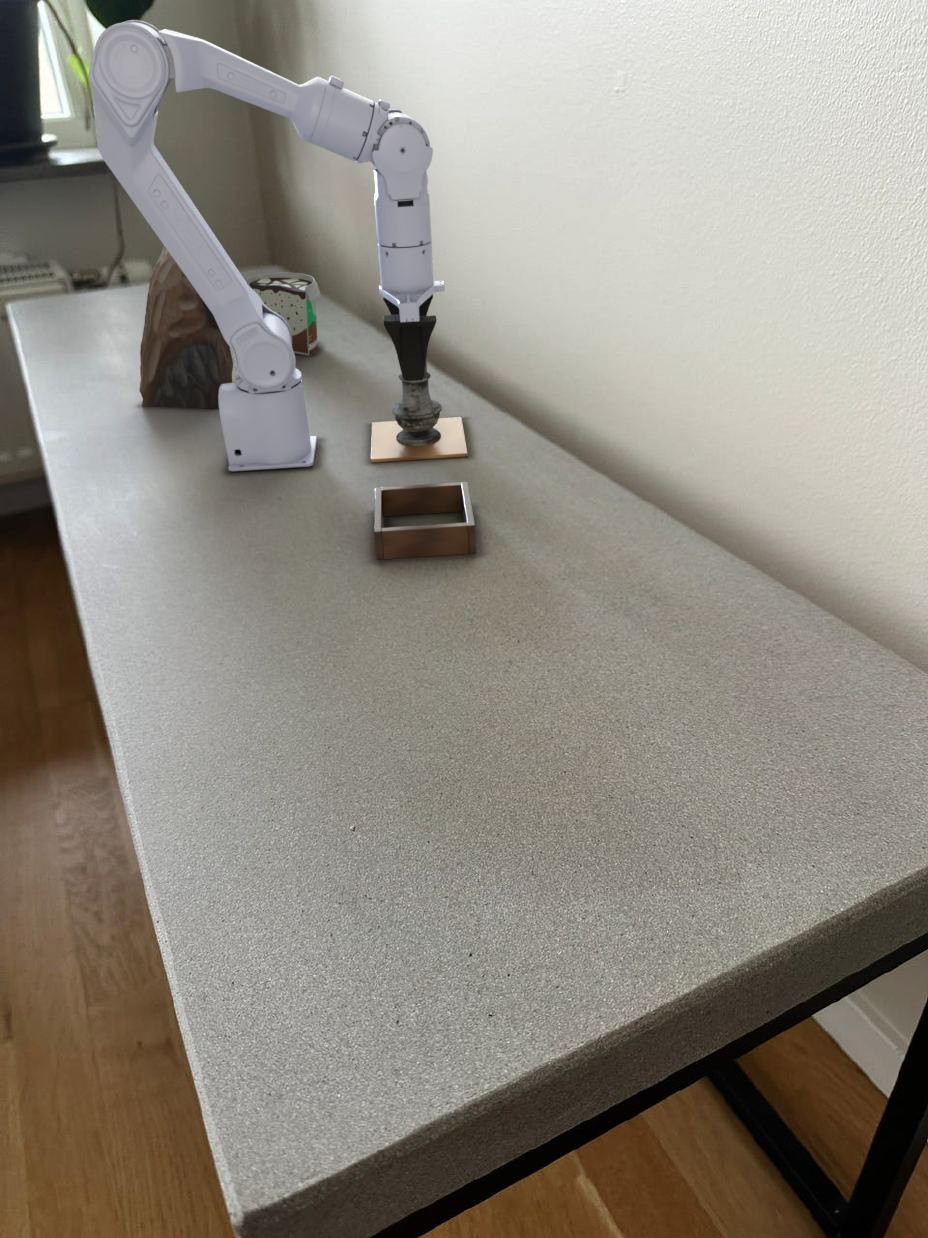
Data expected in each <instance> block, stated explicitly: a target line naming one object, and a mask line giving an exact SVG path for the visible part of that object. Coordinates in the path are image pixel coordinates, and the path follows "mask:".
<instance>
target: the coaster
mask: <svg viewBox="0 0 928 1238" xmlns="http://www.w3.org/2000/svg"><path fill="white" fill-rule="evenodd" d="M433 428H434V429H436V430H438V431H439V432H440V433H441V438H440V439H439V440H438V441H436V442H435V443H432V444H428V445H423V446H409V445H404V444H402V443H399V442H398V441H397V439H396V436H397V434H398V433H399V432H401V431H402V430H404V429H402V428H401V427H400V426H399V425H398V423H397V421H396V420H389V421H375V422H373V421H372V422H371V442H370V463H382V462H383V463H384V462H397V461H398V462H399V461H415V460H430V459H445V458H463V457H468V456H469V454H468V453H469V452H468V447H467V442H466V435H465V429H464V424H463V418H462V416H455V417H454V416H453V417H439V419H438V422H437V423H436V425H435V426H434V427H433Z"/></svg>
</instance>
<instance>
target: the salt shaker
mask: <svg viewBox="0 0 928 1238" xmlns="http://www.w3.org/2000/svg"><path fill="white" fill-rule="evenodd" d="M431 376H432V375H431V374H430V373H429V372H428V367H427V364H426V365H425V372H424V377H423V380H414V381H404V378H403V375H402V373H400V374H399V375H398V379H399V380H400V381H401V389H402V390H401V391H402V395H401V401H399V402H397V403H395V404H394V405H392V407H391V413H392V414H393V415H394V419H395V421H397V423H398V425H399V426H400V427H401V428H402V429H404V430H402V431H401V432H399V433H398V434H397V436H396V439H397V441H398V442H399V443H402V444H404V445H409V446H423V445H428V444H432V443H435V442H436V441H438V440H439V439H440V438H441V433H440V432H439V431H438V430H436V429H434V428H433V427H434V426H435V425H436V423H437V422H438V419H439V418H440V415H441V412H442V411H443V405H442V404H441V403H440V402H439V401H436V400H434V399H431V394H430V390H429V389H430V388H429V379H430V378H431Z"/></svg>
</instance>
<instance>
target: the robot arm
mask: <svg viewBox="0 0 928 1238" xmlns="http://www.w3.org/2000/svg"><path fill="white" fill-rule="evenodd" d="M87 75H88V76H87V78H88V83H89V87H90V91H91V98H92V108H93V115H94V125H95V133H96V143H97V144H96V145H97V149H98V152H99V154H100V156H101V158H102V160H103V161H104V162H105V164H106V165H107V167H108V168H109V170H110V171H111V172H112V174H113V175H114V177H115V178H116V180H117V181H118V183H120V185H121V187H122V188H123V189H124V191H125V192H126V194H127V195H128V196H129V198H130V199H131V200H132V202H133V204H134V205H135V206H136V208H137V210H139V212H140V213H141V215H142V216H143V218H144V219H145V221H146V222H147V223H148V225H149V226H150V228H151V229H152V231H153V232H154V233H155V235H156V236H157V237H158V239H159V240H160V242H161V243H162V244H163V246H164V247H166V249H167V250H168V252H169V253H170V254H171V256H172V257H173V259H174V260H175V261H176V263H177V264H178V266H179V267H180V269H181V270H182V271H183V273H184V274H185V276H186V277H187V278H188V280H189V281H190V283H191V284H192V285H193V287H194V288H195V290H196V291H197V293H198V294H199V295H200V297H201V298H202V300H203V301H204V302H205V304H206V305H207V307H208V308H209V310H210V311H211V312H212V314H213V315H214V317H215V320H216V322H217V324H218V326H219V329H220V331H221V333H222V335H223V337H224V339H225V341H226V342H227V344H228V345H229V347H230V351H231V353H232V356H233V359H234V361H233V362H234V367H235V370H236V372H237V375H236V376H235V381H232V383H226V384H221V385H220V387H219V395H218V401H219V408H218V410H219V412H218V413H219V418H220V424H221V431H222V434H223V435H222V436H223V440H224V441H223V442H224V446H225V451H226V457H227V462H228V471H229V472H243V471H244V472H245V471H260V470H276V469H292V468H294V469H295V468H307V467H312V466H313V465H314V463H315V456H316V449H317V444H318V443H317V442H318V437H317V435H310V428H309V427H310V426H309V420H308V413H307V406H306V398H305V397H306V396H305V391H304V385H303V384H304V383H303V375H302V371H300V370H299V369H298V368H297V367H296V366H297V365H296V363H297V362H296V355H295V354H296V353H294V351H293V349H292V333H291V329H290V327H289V325H288V323H287V322H286V321H285V319H284V318H283V317H281V316H280V315H279V314H277V313H275V312H274V311H272V310H270V309H269V308H268V307H267V306H266V305H265V304H264V303H263V301H262V300H261V298H260V297H259V295H258V294H257V293H256V292H255V291H254V290H253V289H252V288H251V287H250V286H249V285H248V284H247V280H245V278H244V276H243V275H242V274H241V272H240V271H239V269H238V268H237V266H236V264H235V263H234V262H233V260H232V259H231V257H230V256H229V254H228V253H227V251H226V249H225V248H224V247H223V245H222V244H221V242H220V240H218V238H217V236H216V235H215V233H214V232H213V230H212V229H211V227H210V226H209V224H208V223H207V221H206V220H205V218H204V217H203V215H202V214H201V212H200V211H199V209H198V208H197V207H196V205H195V203H194V202H193V200H192V199H191V197H190V196H189V194H188V193H187V192H186V190H185V188H184V187H183V185H182V184H181V183H180V181H179V180H178V177H176V175H175V174H174V172H173V171H172V169H171V167H170V166H169V165H168V163H167V162H166V160H165V158H164V157H163V156H162V154H161V153H160V151H159V150H158V148H157V147H156V145H155V136H156V135H155V134H156V128H157V124H158V123H157V122H158V115H159V105H160V104H161V101H162V99H163V98H164V96H165V94H166V92H167V90H168V87H169V85H170V83H171V81H172V80H174V83H175V86H174V87H175V92H176V93H178V94H179V93H184V92H190V91H196V90H201V89H212V90H215V91H217V92H220V93H222V94H225V95H227V96H231V97H232V98H235V99H239V100H240V101H243V102H246V103H249V104H251V105H253V106H256V107H259V108H261V109H264V110H267V111H269V112H272V113H275V114H277V115H280V116H281V117H285V118H287V119H290V121H291V123H292V124H293V127H294V129H295V131H296V133H297V136H298V137H299V139H300V140H302V141H304V142H307V143H310V144H312V145H315V146H317V147H320V148H321V149H324V150H326V151H329V152H331V153H333V154H336V155H338V156H341V157H343V158H346V159H348V160H350V161H352V162H355V163H357V164H364V163H368V162H370V163H371V164H372V165H373V167H375V168H373V177H374V189H375V190H374V191H375V193H374V197H373V205H374V216H375V227H376V228H375V229H376V240H377V254H378V255H377V256H378V266H379V278H380V280H379V281H380V284H379V285H378V290H379V295H380V296H381V297H382V300H383V302H384V304H385V306H386V307H387V309H388V311H389V313H390V314H384V315H382V324H383V326H384V329H385V331H386V332H387V334H388V335H389V337H390V339H391V341H392V343H393V346H394V348H395V352H396V355H397V360H398V364H399V368H400V373H401V374H402V375H403V378H404V381H414V380H423V377H424V372H425V365H427V354H428V348H429V344H430V343H429V342H430V339H431V336H432V333H433V331H434V329H435V327H436V324H437V320H438V319H437V315H428V311H429V309H430V306H431V303H432V301H433V298H434V294H435V293H439V292H444V291H445V290H446V287H445V285H446V283H445V281H444V280H435V279H434V263H433V262H434V261H433V242H432V240H433V239H432V238H433V237H432V223H431V221H432V219H431V218H432V217H431V202H430V201H431V199H430V193H429V191H428V183H429V176H428V174H427V171H428V169H429V167H430V166H431V163H432V159H433V152H434V148H433V147H432V146H431V143H430V139H429V136H428V133H427V132H426V130H424V129H425V128H423V126H422V125H421V124H420V123H419V122H417V121H416V120H415V119H413V118H412V117H411V116H409V115H407V114H406V113H403V112H402V110H401V109H395V108H391V103H390V102H389V101H386V100H384V99H382V98H379V100H378V102H376V101H373V100H371V99H369V98H367V97H365V96H363V95H360V94H358V93H356V92H353V91H351V90H349V89H347V88H344V85H345V82H344V80H343V79H341V78H339V77H336V76H334V75H330V76H329V78H328V79H327V80H326V79H325V78H322V77H320V76H316V77H313V78H312V79H309V80H308V81H306V82H304V83H302V84H301V83H300V84H298V83H296V82H294V81H292V80H290V79H288V78H285V77H283V76H281V75H279V74H277V73H275V72H273V71H271V70H269V69H267V68H265V67H263V66H260V65H258V64H256V63H253V62H252V61H249V60H248V59H245V58H244V57H241V56H239V55H238V54H235V53H232V52H230V51H228V50H226V49H224V48H222V47H220V46H218V45H216V44H213V43H212V42H209V41H207V40H206V39H204V38H203V39H202V38H199V37H196V36H192V35H189V34H185V33H182V32H179V31H175V30H171V29H167V28H164V29H161V30H159V28H157V27H156V26H155V25H153V24H151V23H149V22H146V21H143V20H139V19H131V20H130V19H129V20H126V21H123V22H118V23H114V24H112V25H110V26H109V27H107V28H106V29H105V30H103V32H102V33H101V34H100V35H99V36H98V38H97V40H96V43H95V46H94V50H93V54H92V58H91V62H90V67H89V70H88V74H87ZM390 108H391V109H390Z"/></svg>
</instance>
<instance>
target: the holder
mask: <svg viewBox="0 0 928 1238" xmlns="http://www.w3.org/2000/svg"><path fill="white" fill-rule="evenodd" d="M373 505H374V507H373V509H374V511H373V537H374V547H375V556H376V560H377V561H379V560H394V559H410V558H423V557H424V558H425V557H426V558H427V557H439V556H440V557H441V556H453V555H469V554H476V553H477V544H476V543H477V540H476V539H477V537H476V522H475V517H474V510H473V505H472V498H471V492H470V485H469V481H458V482H441V483H427V484H426V483H424V484H411V485H395V486H379V487H374V504H373ZM458 512H462V516H463V522H452V523H437V524H423V525H422V524H421V525H407V526H392V527H385V517H396V516H397V517H398V516H411V515H412V516H414V515H428V514H442V513H445V514H446V513H458Z"/></svg>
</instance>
